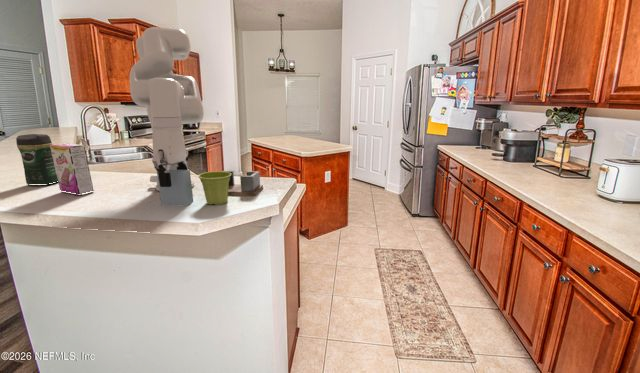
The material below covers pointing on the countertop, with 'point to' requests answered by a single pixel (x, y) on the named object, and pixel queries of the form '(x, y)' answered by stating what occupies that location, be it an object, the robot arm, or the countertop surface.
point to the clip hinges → (247, 180)
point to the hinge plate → (237, 191)
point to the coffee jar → (37, 158)
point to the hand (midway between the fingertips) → (175, 182)
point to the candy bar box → (72, 167)
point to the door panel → (177, 189)
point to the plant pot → (215, 186)
